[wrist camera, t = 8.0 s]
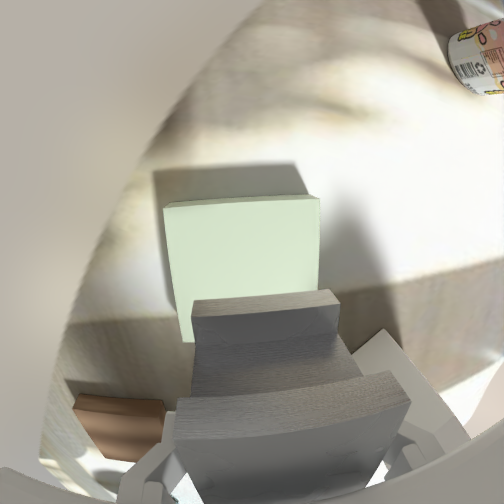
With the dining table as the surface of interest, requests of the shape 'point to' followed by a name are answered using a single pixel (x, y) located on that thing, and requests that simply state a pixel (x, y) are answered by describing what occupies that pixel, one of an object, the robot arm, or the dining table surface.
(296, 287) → the stand
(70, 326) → the dining table surface
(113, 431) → the stand
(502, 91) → the beverage can
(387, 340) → the milk carton
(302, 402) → the block
